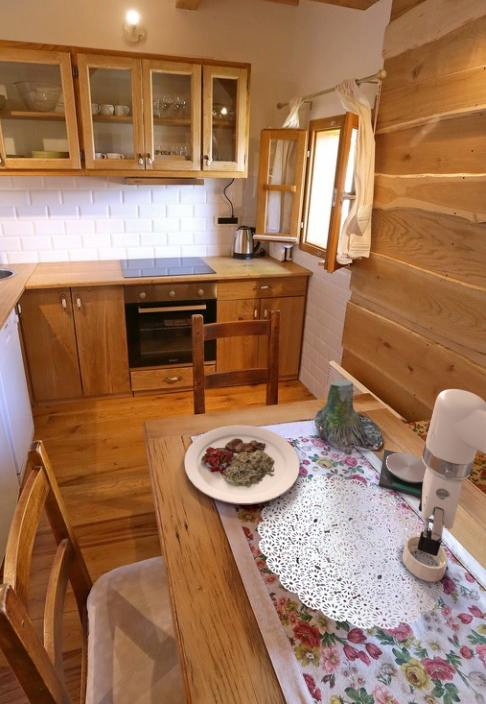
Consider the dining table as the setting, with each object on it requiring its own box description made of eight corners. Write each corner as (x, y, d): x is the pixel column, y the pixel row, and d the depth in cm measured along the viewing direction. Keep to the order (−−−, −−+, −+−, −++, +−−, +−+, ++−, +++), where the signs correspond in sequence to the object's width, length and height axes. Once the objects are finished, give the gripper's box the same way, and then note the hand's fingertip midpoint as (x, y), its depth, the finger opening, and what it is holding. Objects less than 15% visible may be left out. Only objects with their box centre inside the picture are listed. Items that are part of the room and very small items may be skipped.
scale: (432, 468, 106) (433, 461, 105) (432, 506, 94) (434, 498, 93) (383, 455, 111) (384, 448, 110) (377, 489, 99) (379, 482, 98)
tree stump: (346, 465, 108) (339, 401, 105) (302, 438, 126) (295, 383, 123) (397, 443, 114) (392, 383, 112) (349, 421, 133) (343, 368, 130)
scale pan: (430, 464, 104) (431, 459, 103) (430, 492, 95) (431, 487, 94) (387, 453, 108) (387, 448, 107) (383, 478, 99) (384, 473, 99)
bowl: (442, 559, 81) (446, 543, 80) (443, 591, 75) (448, 574, 73) (402, 545, 84) (406, 529, 83) (400, 575, 78) (404, 559, 76)
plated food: (320, 493, 98) (322, 482, 96) (199, 522, 90) (199, 510, 89) (271, 423, 125) (271, 413, 123) (175, 440, 117) (174, 430, 116)
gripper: (477, 500, 62) (451, 578, 68) (467, 436, 76) (447, 505, 82) (422, 483, 65) (403, 560, 71) (423, 425, 79) (407, 493, 85)
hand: (427, 531), depth 77 cm, fingers open, 9 cm apart
